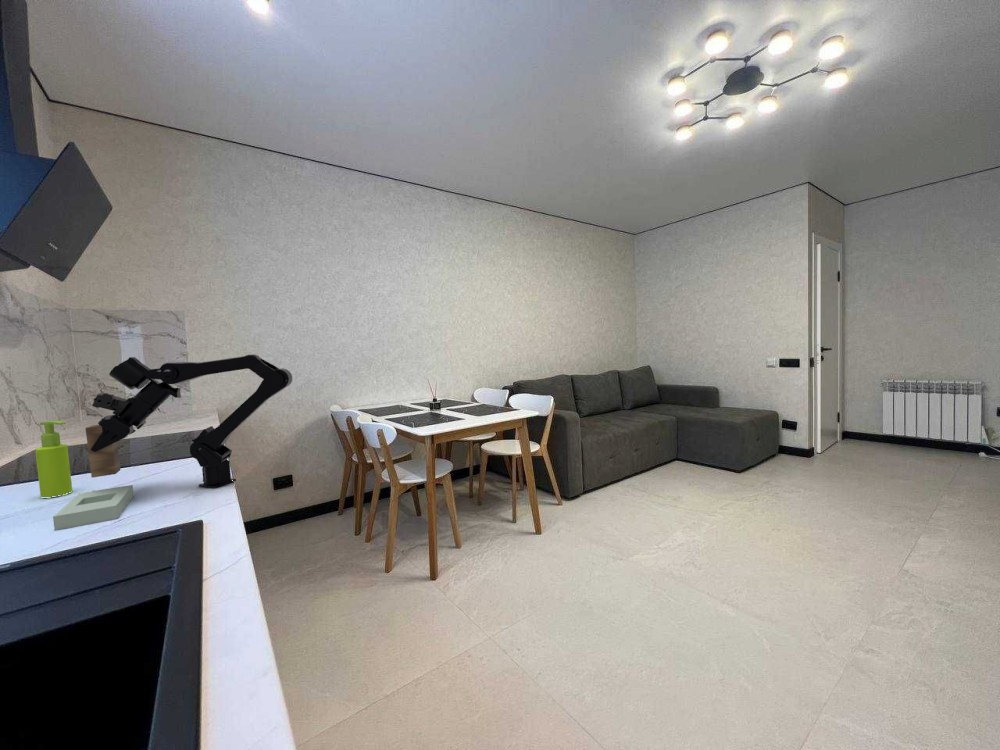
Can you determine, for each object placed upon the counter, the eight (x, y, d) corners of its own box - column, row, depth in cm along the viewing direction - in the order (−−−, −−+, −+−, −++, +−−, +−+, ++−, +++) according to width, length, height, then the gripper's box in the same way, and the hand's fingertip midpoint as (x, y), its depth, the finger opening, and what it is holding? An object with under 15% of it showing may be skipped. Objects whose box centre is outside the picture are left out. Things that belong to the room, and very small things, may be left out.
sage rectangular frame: (80, 505, 104) (79, 493, 103) (133, 496, 109) (132, 484, 109) (54, 530, 88) (53, 516, 88) (117, 518, 94) (116, 505, 94)
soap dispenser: (59, 498, 110) (51, 422, 108) (34, 499, 110) (25, 423, 108) (82, 490, 115) (74, 418, 114) (58, 491, 116) (50, 419, 114)
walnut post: (120, 470, 110) (114, 422, 109) (115, 474, 106) (109, 425, 105) (97, 473, 108) (91, 425, 107) (91, 477, 104) (85, 427, 103)
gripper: (125, 379, 115) (75, 424, 110) (105, 383, 99) (45, 436, 94) (165, 404, 120) (118, 449, 115) (151, 411, 104) (96, 464, 99)
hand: (95, 449), depth 106 cm, fingers closed on walnut post, 4 cm apart
